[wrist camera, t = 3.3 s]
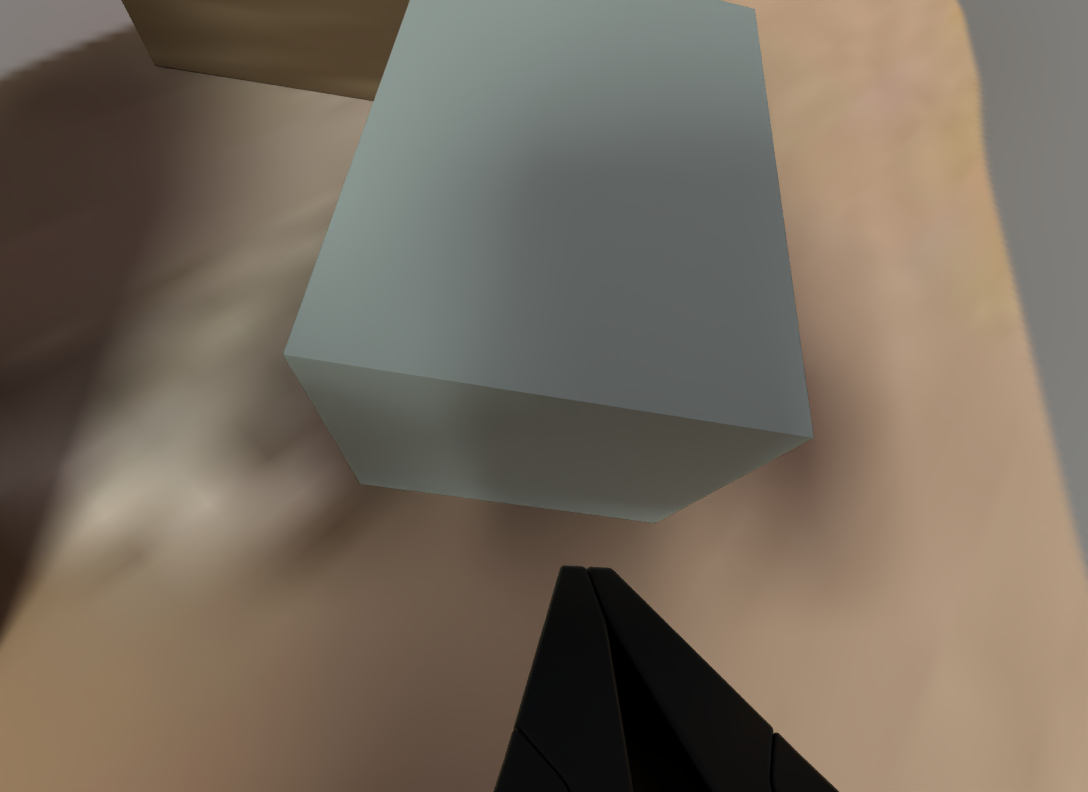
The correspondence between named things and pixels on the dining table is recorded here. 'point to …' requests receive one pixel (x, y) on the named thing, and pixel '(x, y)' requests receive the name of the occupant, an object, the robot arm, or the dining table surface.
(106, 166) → the dining table surface
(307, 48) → the walnut board
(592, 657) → the robot arm
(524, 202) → the grey block
